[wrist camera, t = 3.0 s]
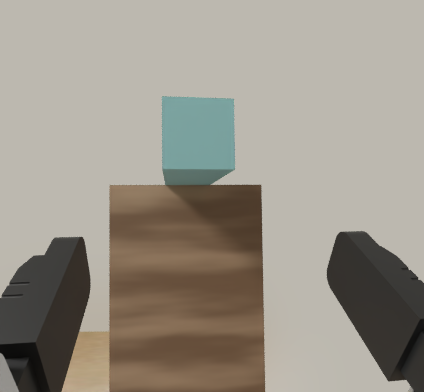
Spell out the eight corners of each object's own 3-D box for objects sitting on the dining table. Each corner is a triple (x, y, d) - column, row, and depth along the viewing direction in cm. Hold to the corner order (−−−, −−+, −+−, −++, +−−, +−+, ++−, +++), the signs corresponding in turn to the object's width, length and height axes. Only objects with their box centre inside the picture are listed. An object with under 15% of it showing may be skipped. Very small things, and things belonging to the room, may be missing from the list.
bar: (235, 169, 16) (233, 98, 16) (162, 169, 15) (162, 96, 15) (194, 194, 41) (194, 167, 41) (167, 194, 41) (167, 167, 41)
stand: (285, 609, 24) (277, 183, 25) (91, 645, 22) (92, 184, 23) (236, 438, 42) (232, 194, 43) (126, 450, 40) (126, 195, 41)
